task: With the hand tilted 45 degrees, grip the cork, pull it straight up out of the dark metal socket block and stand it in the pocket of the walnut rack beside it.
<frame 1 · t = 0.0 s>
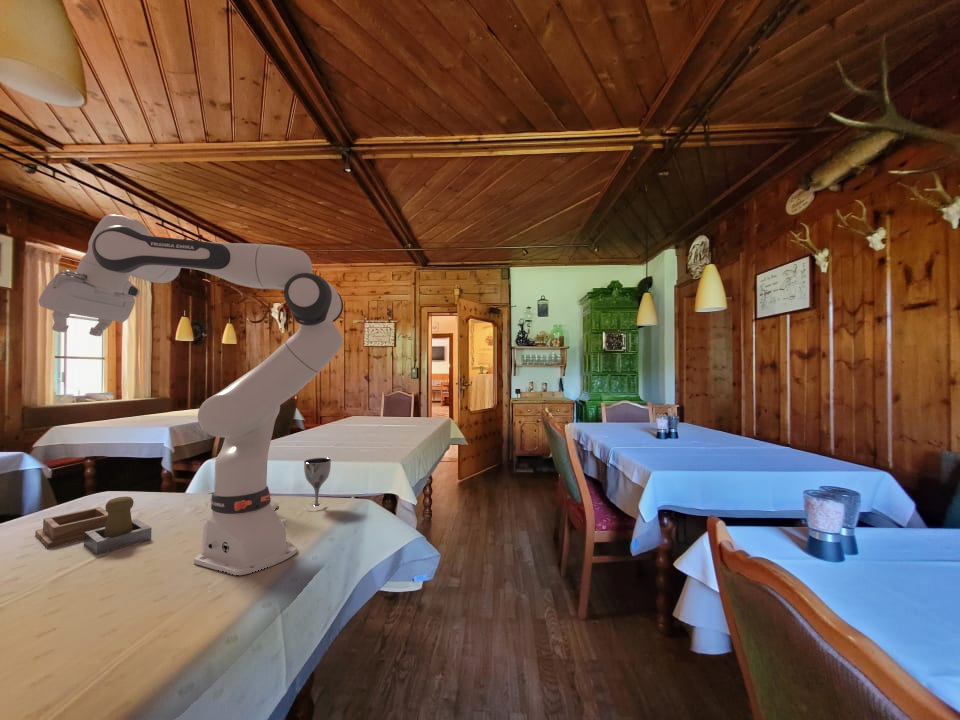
hand: (77, 333, 91), 52 cm above the table, tool tilted 20°, fingers open, 8 cm apart
wine glass: (316, 508, 123), on the table
walnut rack: (77, 532, 102), on the table
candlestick: (254, 510, 121), on the table
cork: (118, 542, 97), resting in socket block
socket block: (118, 541, 97), on the table
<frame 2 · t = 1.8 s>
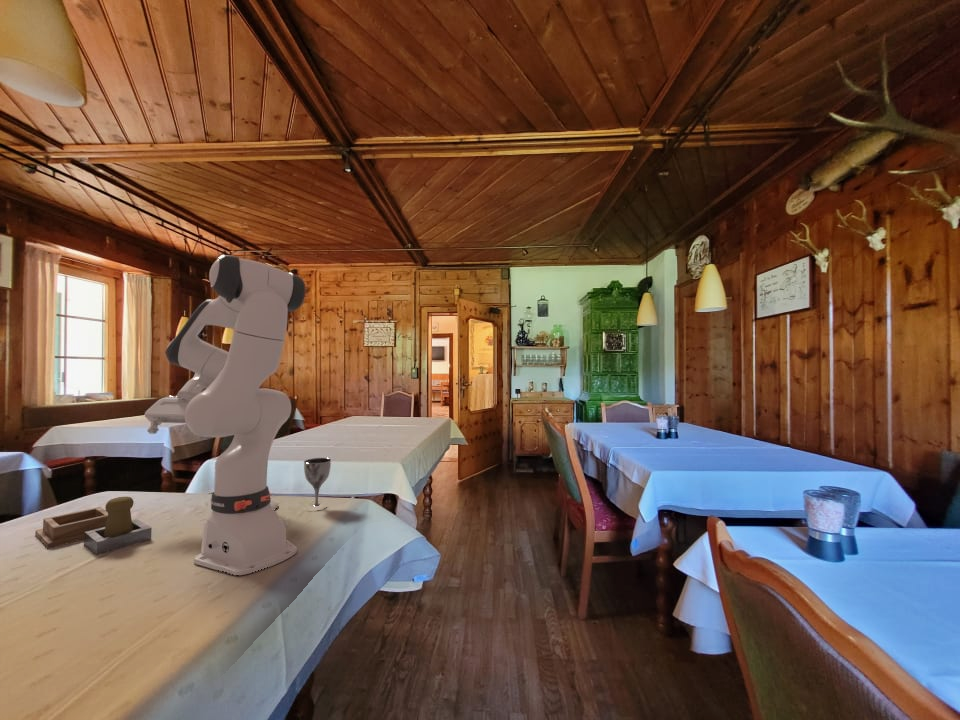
hand: (165, 433, 110), 25 cm above the table, tool tilted 45°, fingers open, 8 cm apart
nothing on the table moved.
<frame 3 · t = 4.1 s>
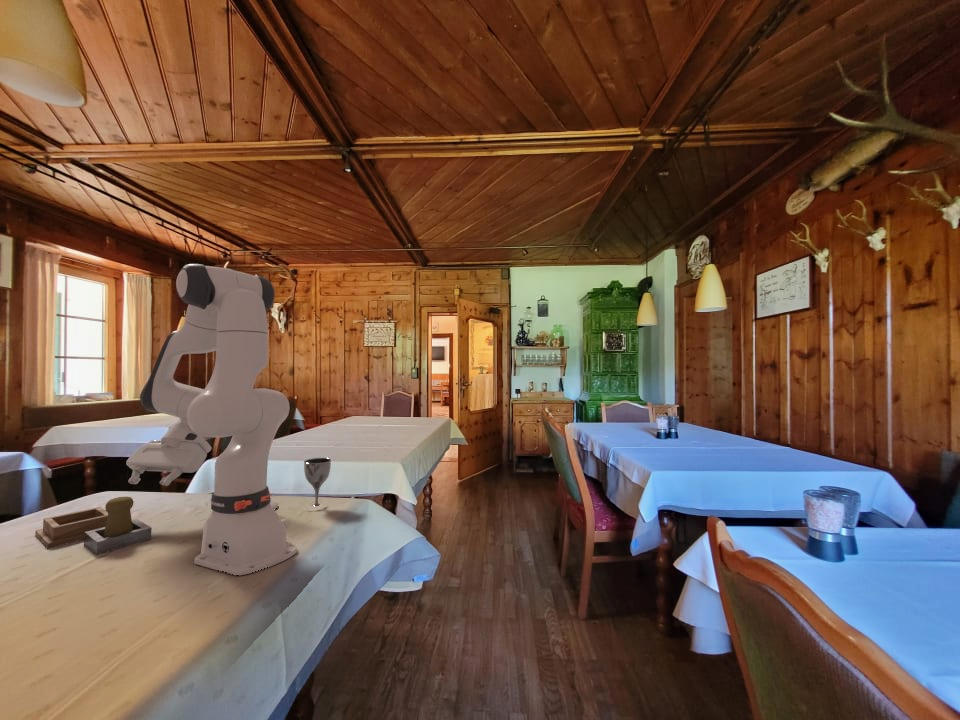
hand: (147, 483, 105), 12 cm above the table, tool tilted 45°, fingers open, 8 cm apart
nothing on the table moved.
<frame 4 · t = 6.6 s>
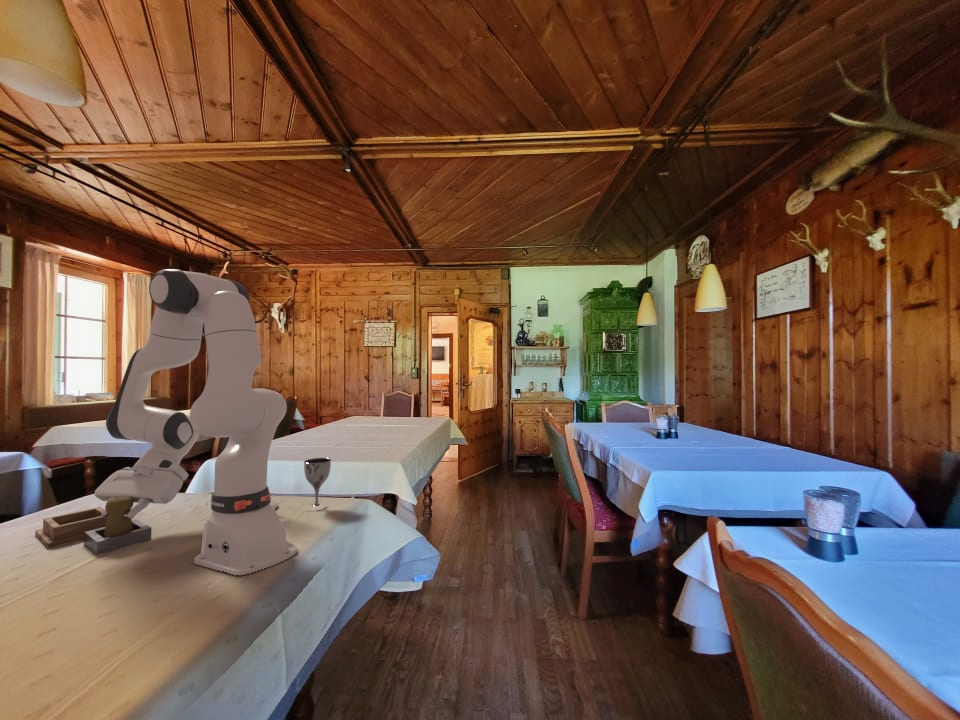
hand: (116, 517, 97), 6 cm above the table, tool tilted 45°, fingers closed on cork, 5 cm apart
cork: (118, 542, 97), resting in socket block, touching gripper
everything else where it was.
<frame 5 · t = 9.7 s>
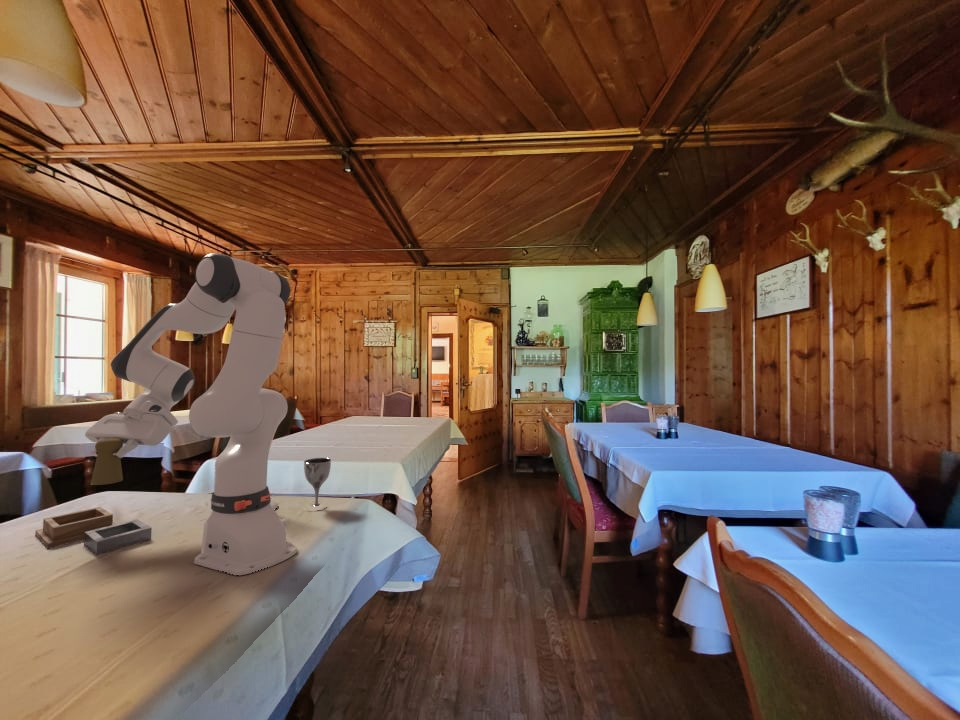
hand: (105, 455, 99), 21 cm above the table, tool tilted 45°, fingers closed on cork, 5 cm apart
cork: (107, 482, 100), point 14 cm above the table, touching gripper
everything else where it was.
when the fingers open (9 cm above the table, at t = 13.0 s): cork drops 1 cm, resting on walnut rack.
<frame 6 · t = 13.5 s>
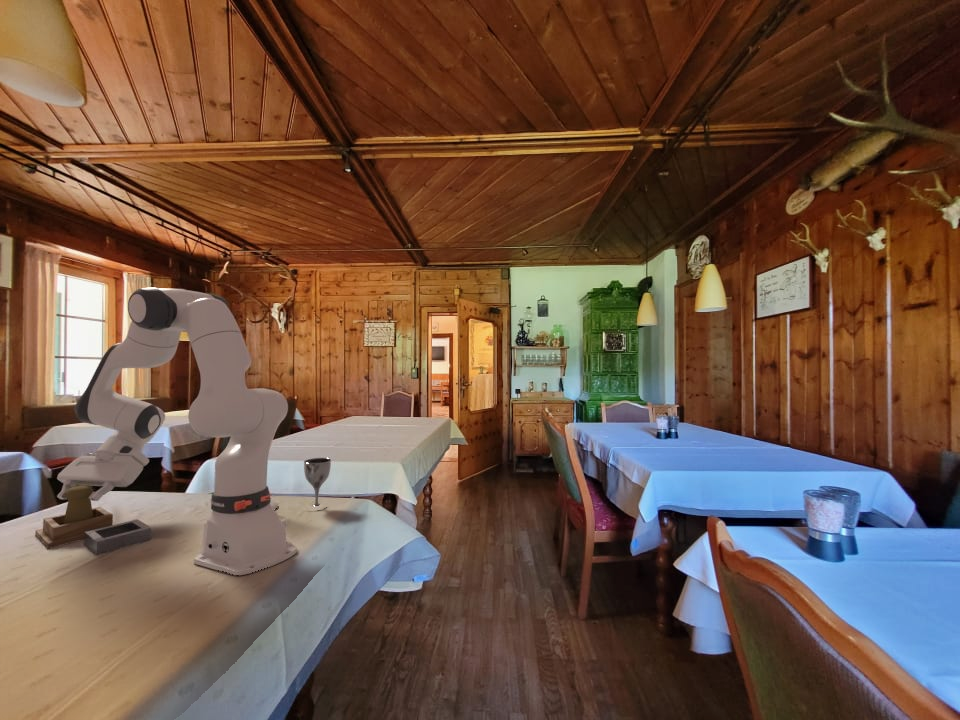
hand: (76, 499, 102), 9 cm above the table, tool tilted 45°, fingers open, 8 cm apart
cork: (78, 528, 103), point 1 cm above the table, touching walnut rack
everything else where it was.
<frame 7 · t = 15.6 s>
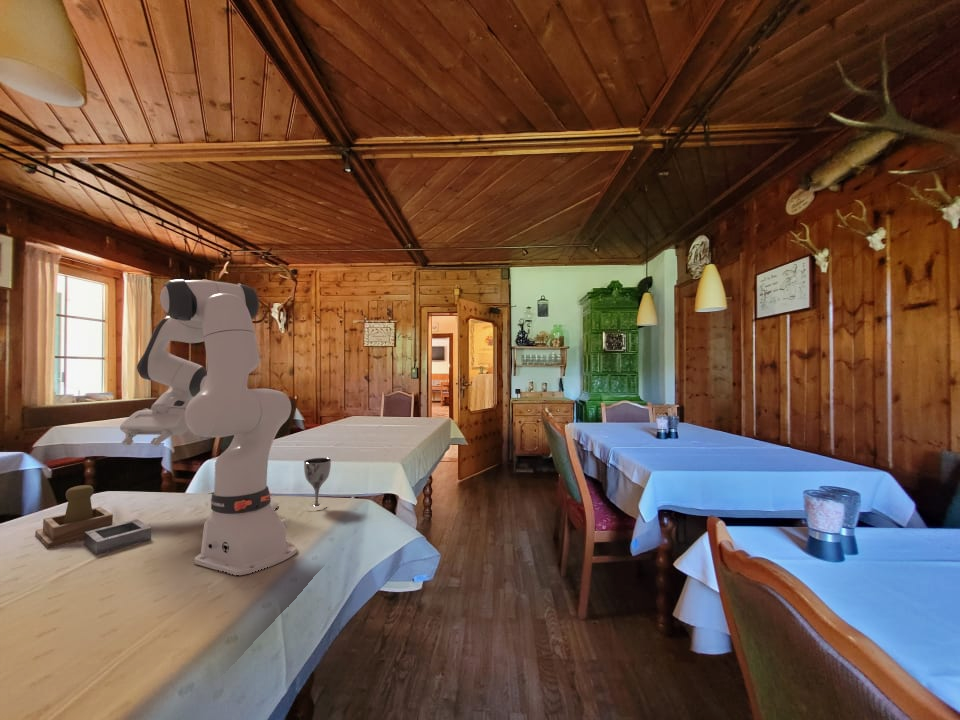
hand: (139, 444, 116), 21 cm above the table, tool tilted 45°, fingers open, 8 cm apart
nothing on the table moved.
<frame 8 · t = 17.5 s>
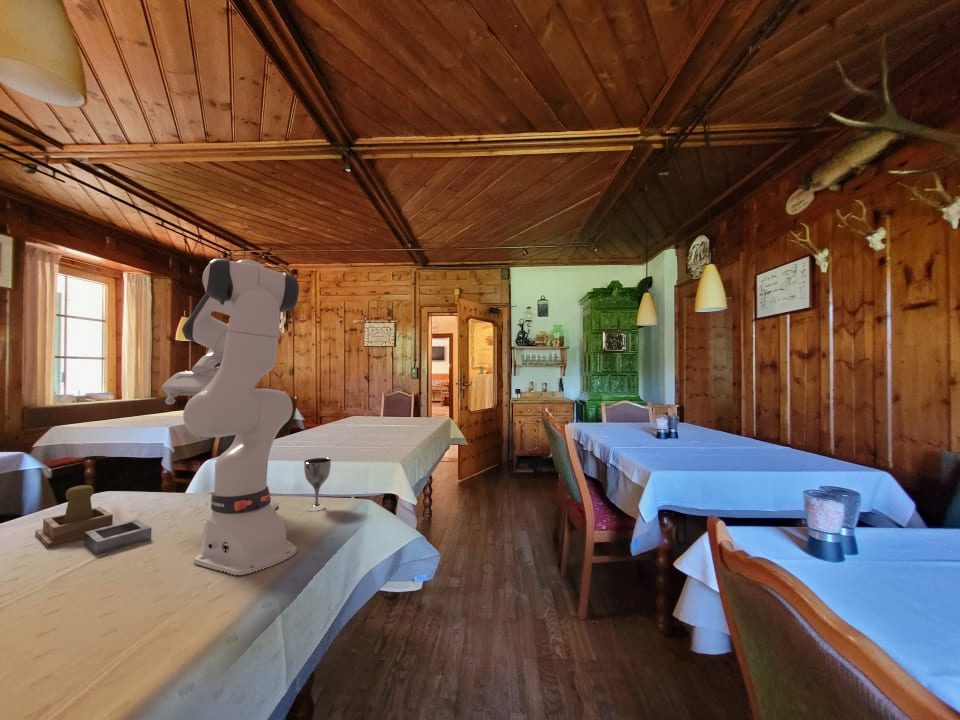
hand: (182, 403, 118), 33 cm above the table, tool tilted 45°, fingers open, 8 cm apart
nothing on the table moved.
at the end: cork 0.0 cm off-centre on the walnut rack, point 1.0 cm above the walnut rack's base; cork tilted 0°; the gripper is holding nothing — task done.
